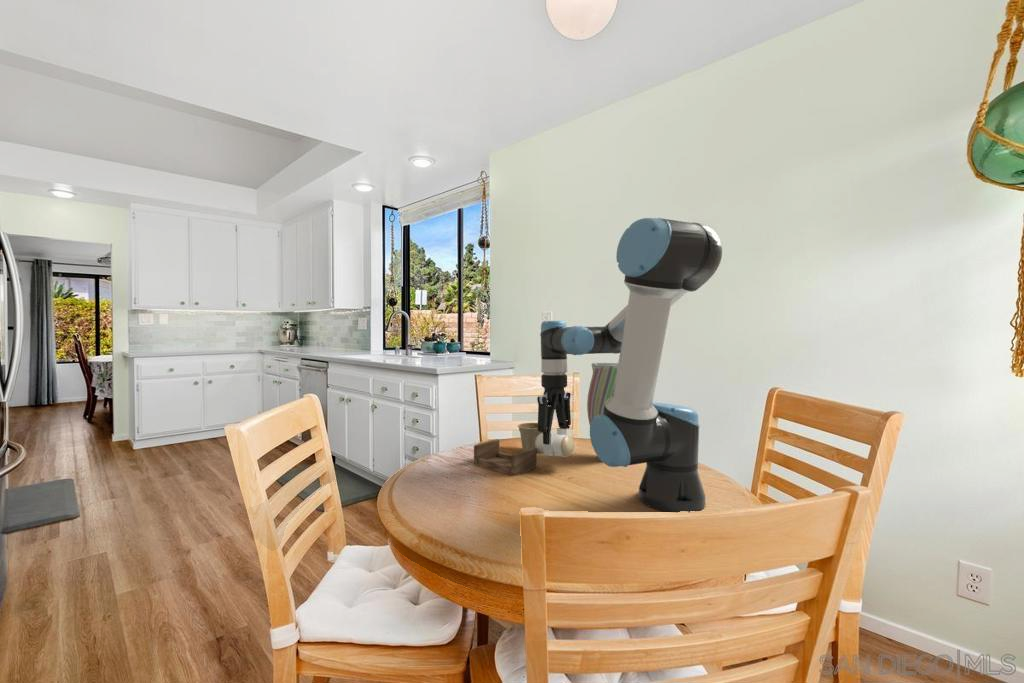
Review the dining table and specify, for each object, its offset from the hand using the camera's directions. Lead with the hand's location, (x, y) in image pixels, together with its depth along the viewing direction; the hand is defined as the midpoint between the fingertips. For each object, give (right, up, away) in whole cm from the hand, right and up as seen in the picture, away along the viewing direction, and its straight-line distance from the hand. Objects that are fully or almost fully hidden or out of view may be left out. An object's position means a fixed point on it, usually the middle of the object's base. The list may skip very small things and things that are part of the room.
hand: (555, 452), depth 135 cm
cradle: (-15, -5, +3) cm, 16 cm away
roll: (0, -1, 0) cm, 1 cm away
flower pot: (-6, -4, +19) cm, 20 cm away
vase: (+17, -5, +9) cm, 20 cm away
